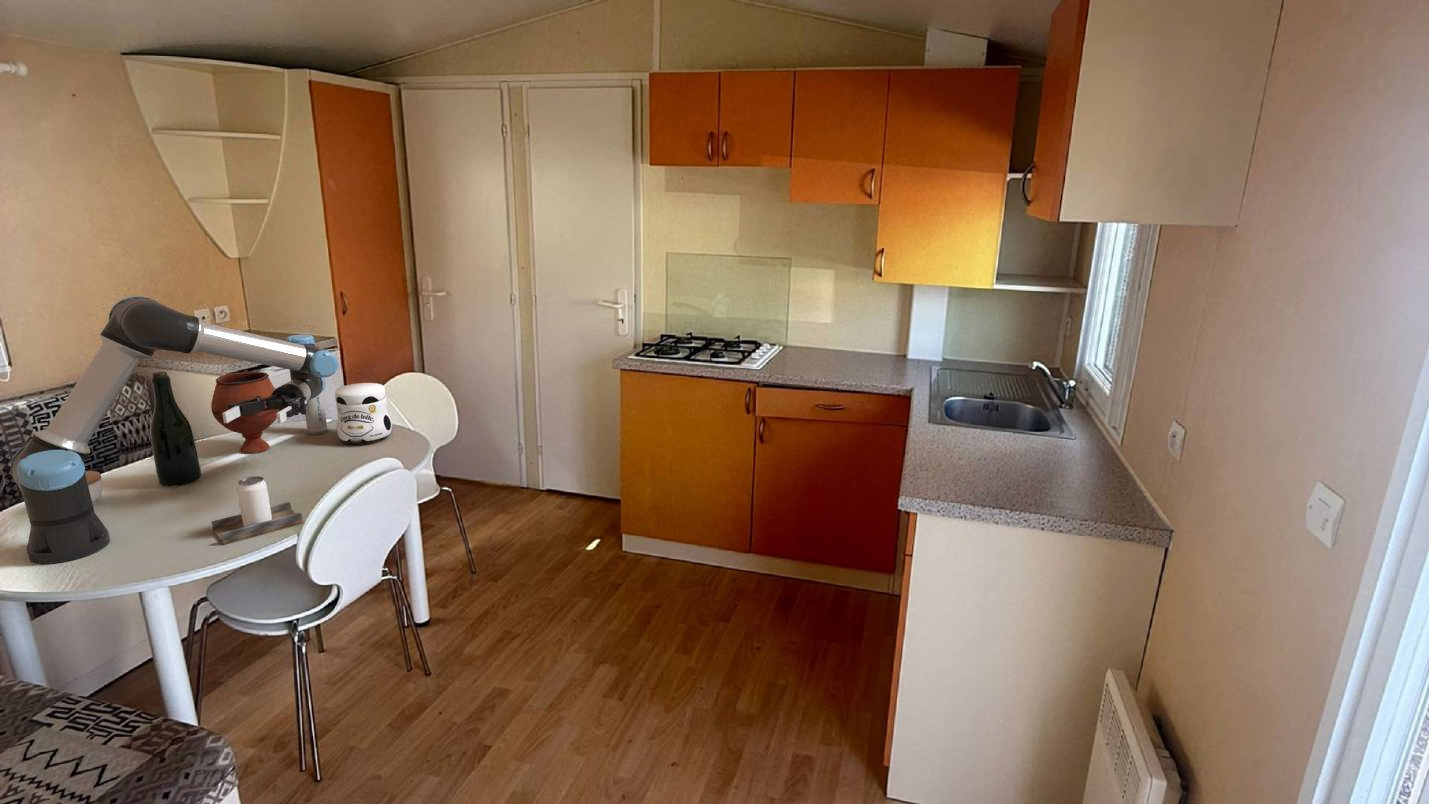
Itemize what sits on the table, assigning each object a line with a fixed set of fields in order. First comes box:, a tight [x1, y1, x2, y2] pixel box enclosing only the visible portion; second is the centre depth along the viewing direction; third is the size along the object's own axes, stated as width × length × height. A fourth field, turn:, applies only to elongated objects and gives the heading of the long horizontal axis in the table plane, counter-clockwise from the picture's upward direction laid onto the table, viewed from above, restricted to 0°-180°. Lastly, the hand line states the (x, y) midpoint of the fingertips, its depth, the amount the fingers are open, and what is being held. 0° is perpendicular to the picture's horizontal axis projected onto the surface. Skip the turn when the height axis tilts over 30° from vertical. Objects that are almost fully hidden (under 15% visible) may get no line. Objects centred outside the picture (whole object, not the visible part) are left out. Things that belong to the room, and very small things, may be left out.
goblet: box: [210, 371, 280, 455], centre depth 243 cm, size 19×19×25 cm
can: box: [236, 475, 272, 527], centre depth 192 cm, size 6×6×12 cm
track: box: [211, 501, 304, 546], centre depth 193 cm, size 18×11×3 cm, turn 135°
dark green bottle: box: [149, 371, 202, 487], centre depth 216 cm, size 10×10×33 cm
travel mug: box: [305, 390, 329, 436], centre depth 262 cm, size 6×7×20 cm
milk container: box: [334, 382, 393, 444], centre depth 256 cm, size 17×17×18 cm
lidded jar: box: [85, 470, 103, 505], centre depth 203 cm, size 11×11×9 cm
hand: (251, 418), depth 196 cm, fingers open, 13 cm apart
